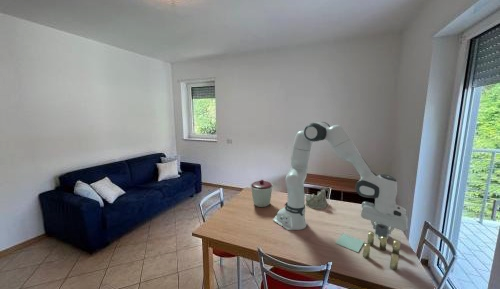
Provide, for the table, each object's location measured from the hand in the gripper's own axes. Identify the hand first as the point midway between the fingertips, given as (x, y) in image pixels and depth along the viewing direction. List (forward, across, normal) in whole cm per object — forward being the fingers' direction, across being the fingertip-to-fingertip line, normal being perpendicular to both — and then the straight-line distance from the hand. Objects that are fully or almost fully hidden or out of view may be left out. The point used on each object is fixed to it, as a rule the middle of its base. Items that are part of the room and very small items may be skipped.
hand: (381, 231), depth 108 cm
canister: (+15, -85, +5) cm, 86 cm away
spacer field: (+14, 0, 0) cm, 14 cm away
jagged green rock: (+14, -51, +34) cm, 63 cm away
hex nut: (+2, 0, 0) cm, 2 cm away
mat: (+14, -15, 0) cm, 20 cm away
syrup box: (+14, -3, +19) cm, 24 cm away
